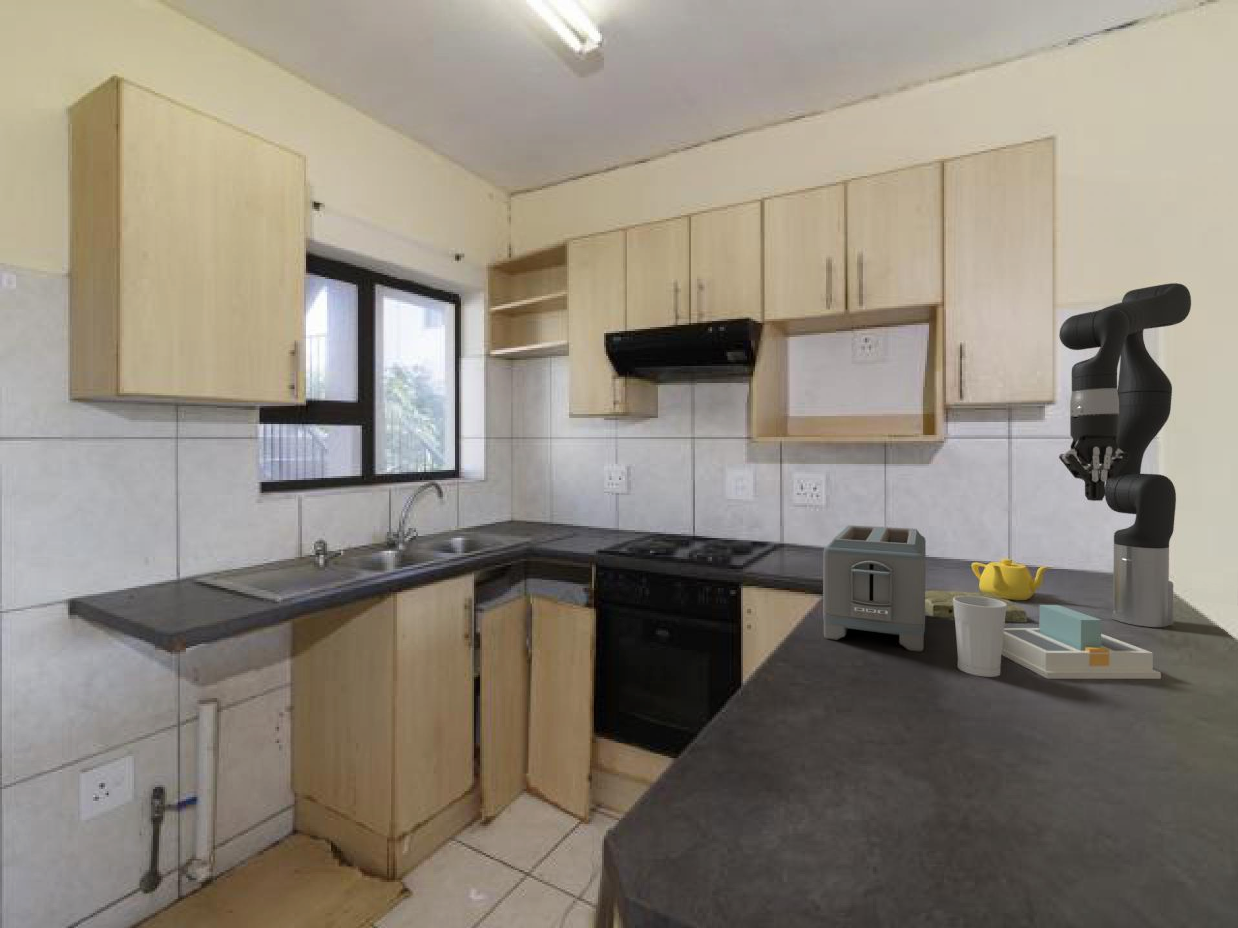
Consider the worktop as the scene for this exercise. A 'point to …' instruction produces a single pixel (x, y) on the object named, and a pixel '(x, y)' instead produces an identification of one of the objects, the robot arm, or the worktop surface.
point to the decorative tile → (943, 600)
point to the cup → (979, 634)
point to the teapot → (1008, 579)
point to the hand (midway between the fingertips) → (1094, 500)
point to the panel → (1069, 627)
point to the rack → (1077, 657)
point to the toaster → (875, 583)
